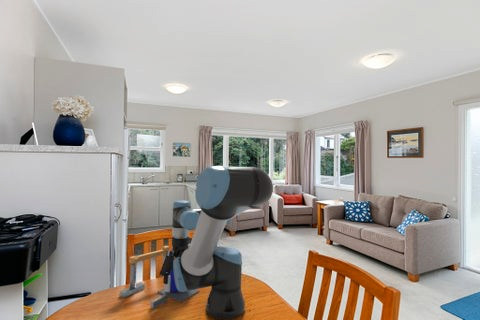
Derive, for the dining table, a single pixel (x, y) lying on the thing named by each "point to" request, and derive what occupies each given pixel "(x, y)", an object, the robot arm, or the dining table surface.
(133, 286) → the dock
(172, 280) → the mug
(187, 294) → the coaster
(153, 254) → the ball-tipped wooden rod
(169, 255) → the robot arm
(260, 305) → the dining table surface
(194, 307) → the dining table surface
